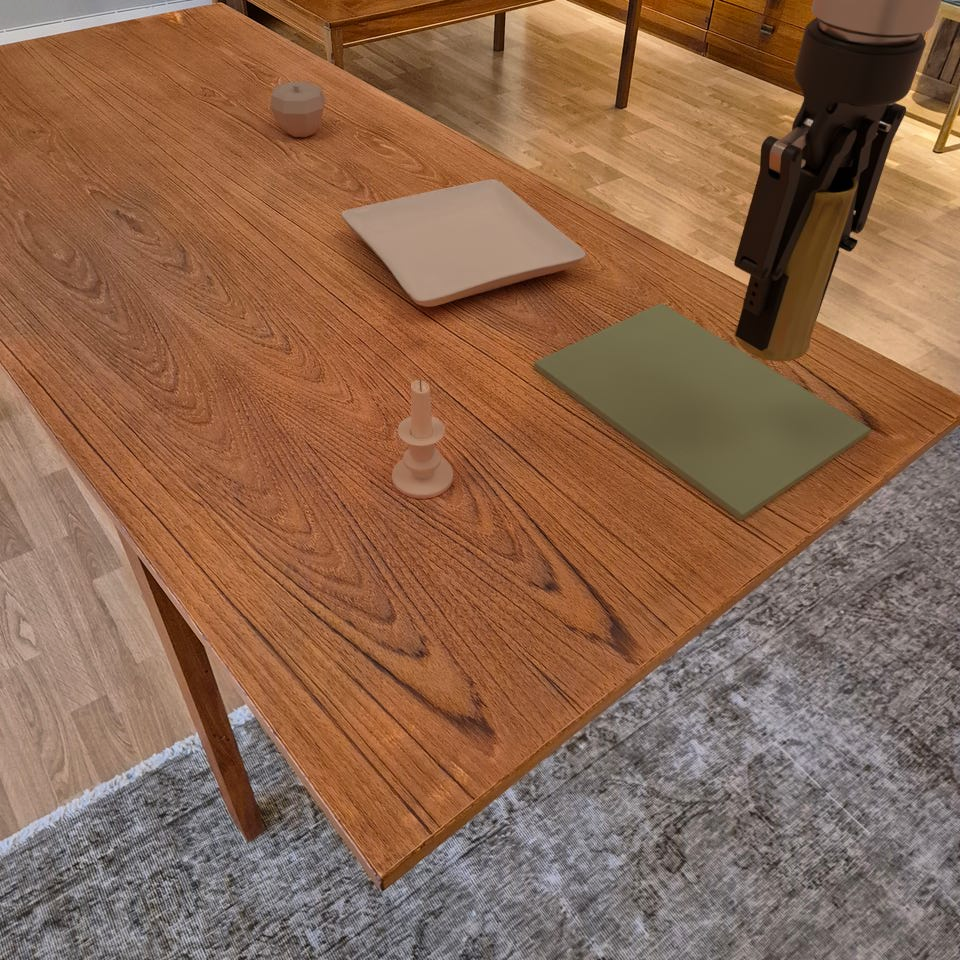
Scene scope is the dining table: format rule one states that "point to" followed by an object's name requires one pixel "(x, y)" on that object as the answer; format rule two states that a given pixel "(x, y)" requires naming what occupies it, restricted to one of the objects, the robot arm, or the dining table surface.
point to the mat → (703, 407)
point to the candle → (421, 450)
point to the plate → (462, 241)
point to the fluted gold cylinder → (807, 276)
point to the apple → (298, 107)
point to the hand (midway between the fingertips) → (776, 328)
